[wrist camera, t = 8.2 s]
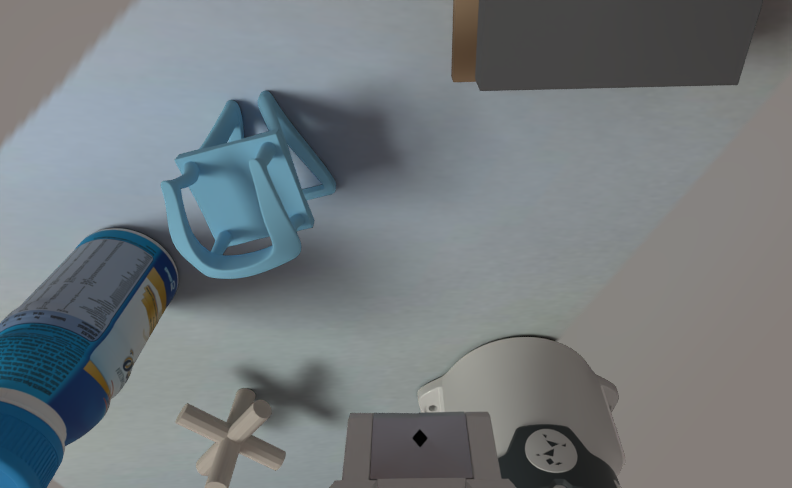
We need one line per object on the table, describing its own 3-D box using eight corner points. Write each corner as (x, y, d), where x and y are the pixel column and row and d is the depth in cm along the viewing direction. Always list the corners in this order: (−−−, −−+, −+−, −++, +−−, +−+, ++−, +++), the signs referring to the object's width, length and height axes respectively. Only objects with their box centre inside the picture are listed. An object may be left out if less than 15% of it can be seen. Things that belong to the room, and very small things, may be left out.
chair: (300, 80, 37) (261, 147, 27) (338, 188, 41) (317, 281, 31) (195, 108, 38) (119, 182, 28) (242, 210, 42) (192, 308, 32)
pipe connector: (318, 390, 52) (302, 483, 44) (262, 442, 56) (238, 538, 48) (226, 339, 49) (190, 430, 41) (175, 399, 53) (132, 493, 45)
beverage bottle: (130, 205, 42) (-54, 409, 25) (204, 282, 46) (87, 505, 29) (55, 252, 44) (-162, 467, 27) (130, 321, 48) (-19, 549, 31)
